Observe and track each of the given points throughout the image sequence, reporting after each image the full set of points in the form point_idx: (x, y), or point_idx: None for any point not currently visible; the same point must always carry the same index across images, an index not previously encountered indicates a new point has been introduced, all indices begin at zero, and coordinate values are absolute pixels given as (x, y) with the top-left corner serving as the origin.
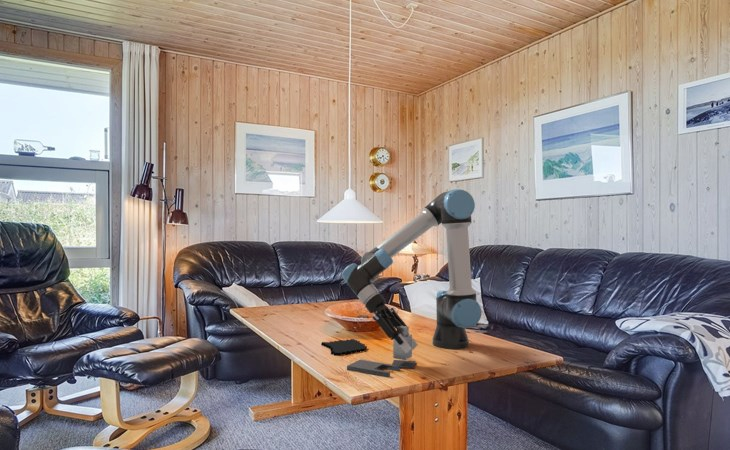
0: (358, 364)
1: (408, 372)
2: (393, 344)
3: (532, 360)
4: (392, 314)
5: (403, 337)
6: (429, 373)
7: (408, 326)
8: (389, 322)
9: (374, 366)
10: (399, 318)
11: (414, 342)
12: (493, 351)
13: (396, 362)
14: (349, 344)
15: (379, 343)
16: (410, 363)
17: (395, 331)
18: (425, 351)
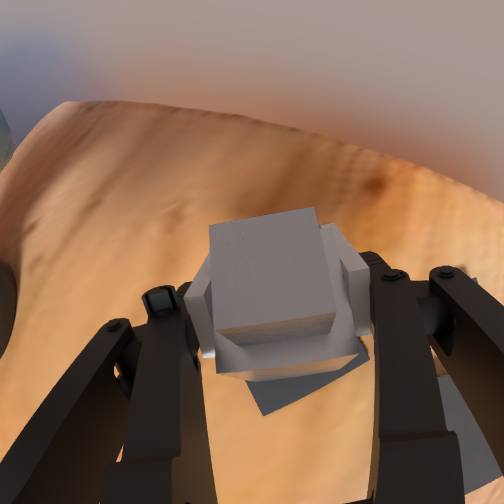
0: (469, 462)
1: None
2: (348, 361)
3: (76, 111)
4: (148, 496)
5: (337, 251)
6: (318, 194)
7: (210, 225)
8: (435, 375)
9: (455, 388)
10: (63, 407)
11: None
12: (24, 191)
13: (297, 377)
14: None
15: None
16: None
17: (403, 285)
18: (56, 358)
